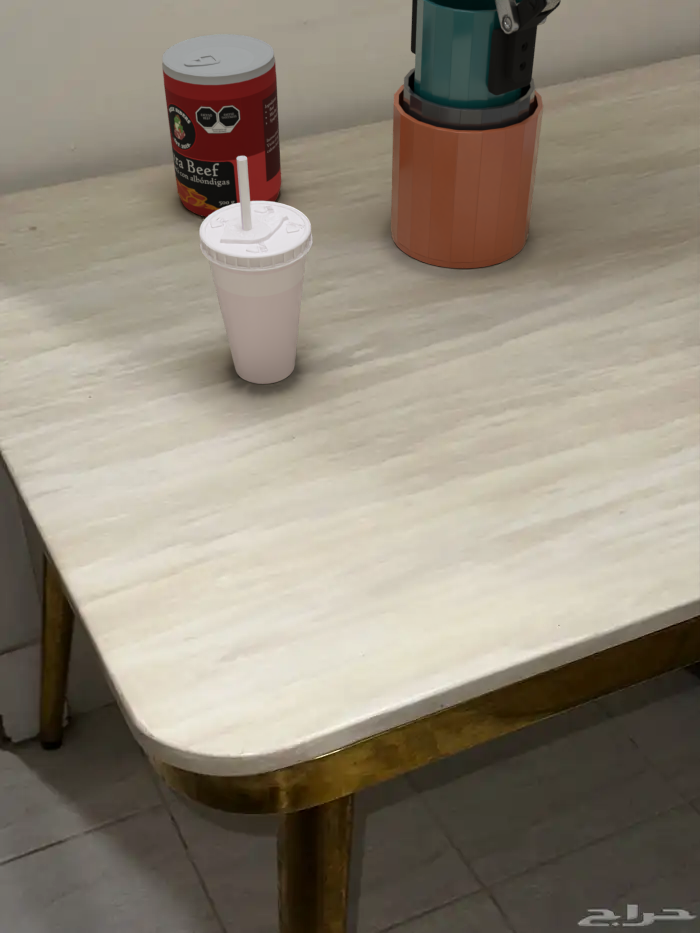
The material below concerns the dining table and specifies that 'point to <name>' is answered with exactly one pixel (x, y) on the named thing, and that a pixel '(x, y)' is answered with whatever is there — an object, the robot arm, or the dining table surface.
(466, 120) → the stack top
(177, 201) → the dining table surface
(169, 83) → the canned food
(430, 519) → the dining table surface
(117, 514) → the dining table surface
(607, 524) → the dining table surface
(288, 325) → the smoothie
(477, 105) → the teal cup
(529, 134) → the stack
